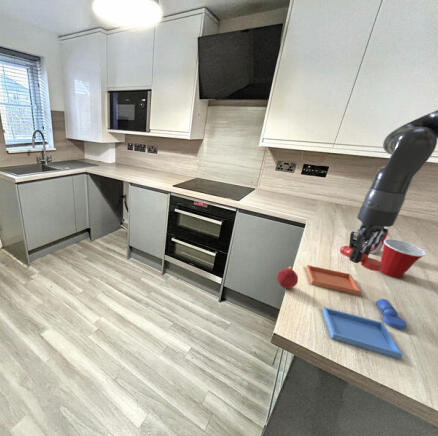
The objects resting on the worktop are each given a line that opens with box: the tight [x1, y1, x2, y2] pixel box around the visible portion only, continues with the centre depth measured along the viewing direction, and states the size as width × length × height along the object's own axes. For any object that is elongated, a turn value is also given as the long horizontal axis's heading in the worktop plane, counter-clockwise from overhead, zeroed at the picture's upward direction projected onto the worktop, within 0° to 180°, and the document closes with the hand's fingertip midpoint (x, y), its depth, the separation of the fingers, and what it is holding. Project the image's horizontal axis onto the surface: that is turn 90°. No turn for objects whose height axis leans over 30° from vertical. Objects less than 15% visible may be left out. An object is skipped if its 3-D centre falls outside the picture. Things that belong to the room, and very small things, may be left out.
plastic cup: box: [379, 238, 427, 279], centre depth 84 cm, size 11×11×12 cm
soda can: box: [369, 227, 389, 255], centre depth 100 cm, size 7×7×12 cm
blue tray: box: [322, 306, 404, 360], centre depth 61 cm, size 13×10×2 cm
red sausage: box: [339, 245, 383, 272], centre depth 69 cm, size 10×4×3 cm, turn 22°
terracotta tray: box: [305, 264, 362, 297], centre depth 81 cm, size 13×10×2 cm
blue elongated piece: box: [376, 298, 408, 331], centre depth 66 cm, size 10×4×3 cm, turn 156°
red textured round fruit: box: [276, 266, 299, 289], centre depth 76 cm, size 6×6×8 cm
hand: (357, 260), depth 70 cm, fingers closed on red sausage, 3 cm apart
